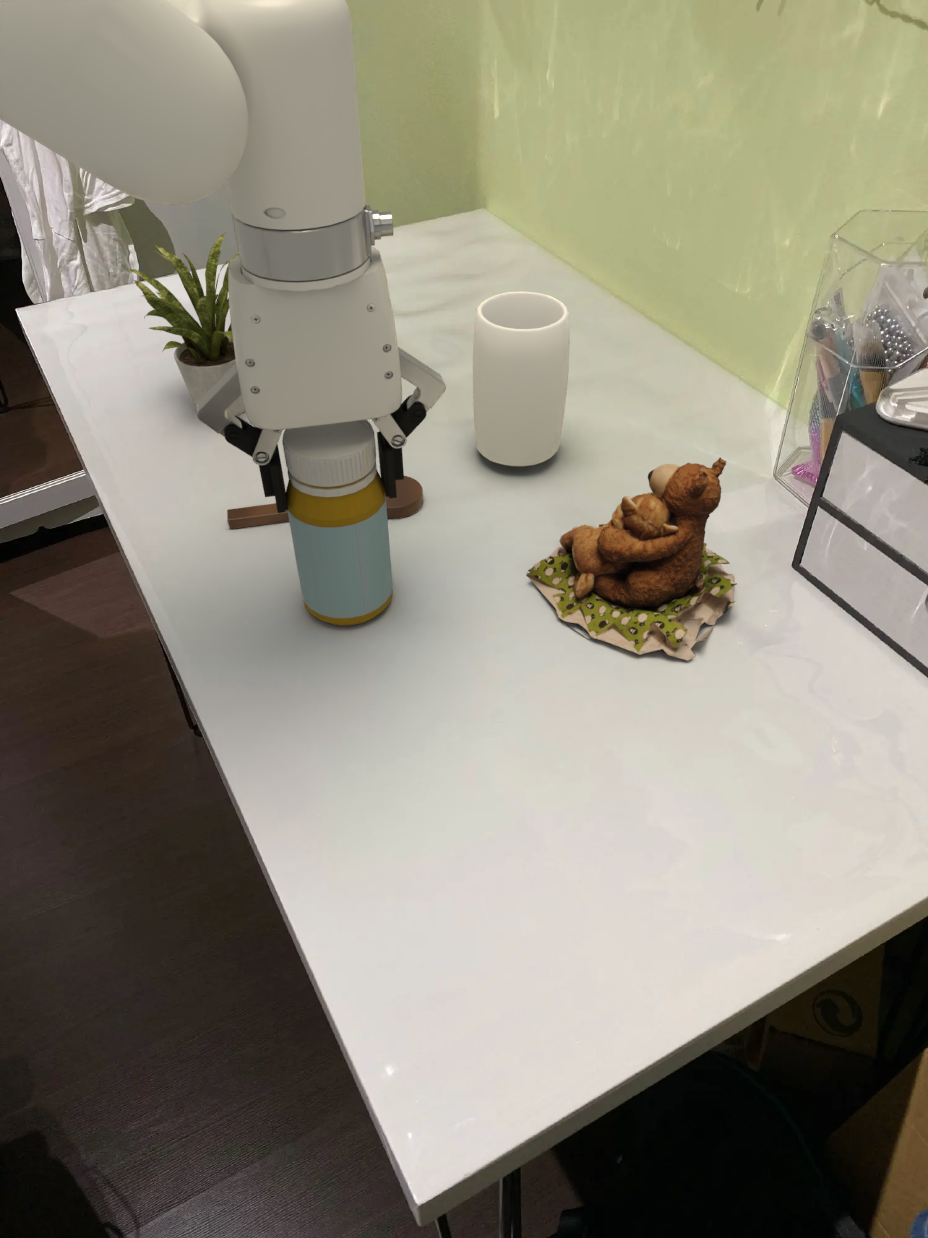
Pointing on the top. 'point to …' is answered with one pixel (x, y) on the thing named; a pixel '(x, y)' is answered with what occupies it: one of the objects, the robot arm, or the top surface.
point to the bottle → (338, 521)
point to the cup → (520, 377)
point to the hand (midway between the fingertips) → (335, 492)
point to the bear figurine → (645, 567)
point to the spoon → (397, 507)
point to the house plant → (196, 324)
